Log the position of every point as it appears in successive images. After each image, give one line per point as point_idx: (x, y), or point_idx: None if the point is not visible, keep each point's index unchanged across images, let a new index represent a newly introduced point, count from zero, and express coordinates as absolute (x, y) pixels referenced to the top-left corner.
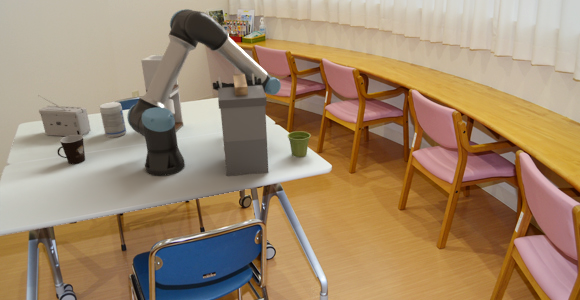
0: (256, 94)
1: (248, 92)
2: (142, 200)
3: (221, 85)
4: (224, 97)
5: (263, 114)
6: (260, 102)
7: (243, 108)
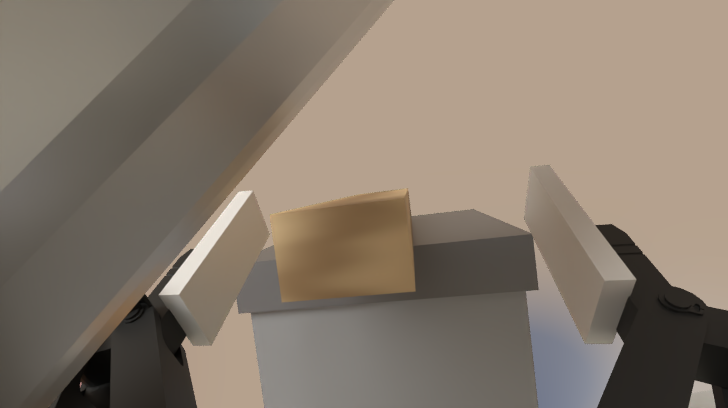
0: None
1: None
2: (706, 404)
3: (559, 282)
4: (455, 214)
5: None
6: None
7: None
